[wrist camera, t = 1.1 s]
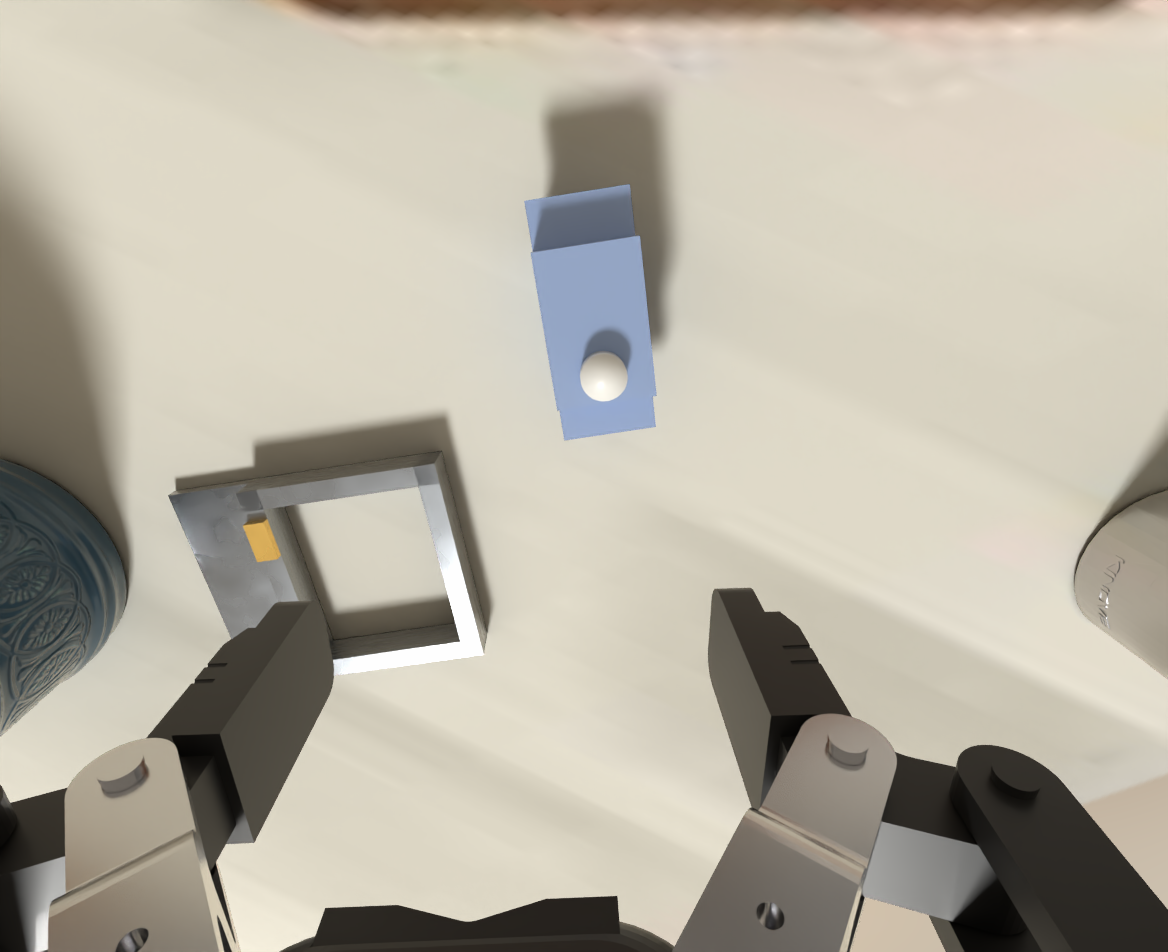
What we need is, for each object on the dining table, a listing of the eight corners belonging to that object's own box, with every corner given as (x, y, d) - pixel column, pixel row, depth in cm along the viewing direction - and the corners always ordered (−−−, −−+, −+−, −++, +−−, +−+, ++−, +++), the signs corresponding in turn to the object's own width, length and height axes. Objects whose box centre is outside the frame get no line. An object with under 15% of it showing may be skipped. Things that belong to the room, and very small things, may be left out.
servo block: (621, 189, 26) (636, 179, 21) (645, 405, 30) (663, 444, 24) (529, 204, 26) (520, 197, 21) (564, 417, 30) (564, 459, 24)
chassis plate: (441, 450, 30) (432, 466, 28) (487, 633, 34) (482, 659, 32) (175, 490, 30) (147, 509, 28) (252, 667, 34) (232, 694, 32)
